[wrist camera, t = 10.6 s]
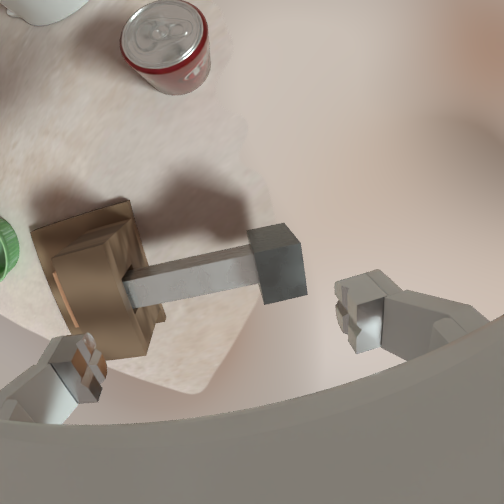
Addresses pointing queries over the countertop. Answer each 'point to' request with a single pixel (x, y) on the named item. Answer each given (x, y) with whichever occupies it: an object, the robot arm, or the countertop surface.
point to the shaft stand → (99, 278)
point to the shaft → (226, 271)
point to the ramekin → (7, 248)
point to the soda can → (168, 46)
